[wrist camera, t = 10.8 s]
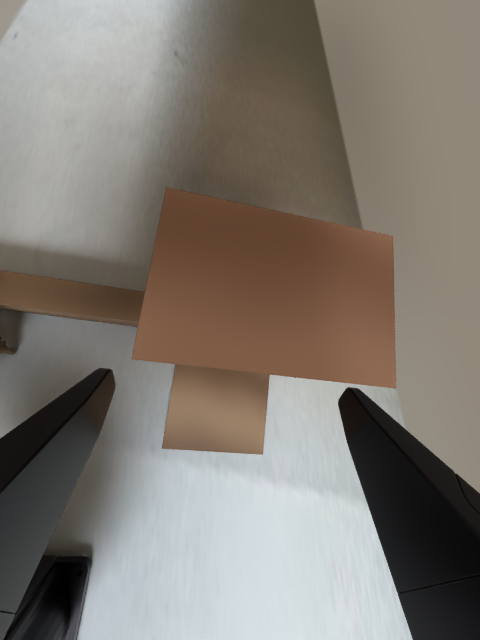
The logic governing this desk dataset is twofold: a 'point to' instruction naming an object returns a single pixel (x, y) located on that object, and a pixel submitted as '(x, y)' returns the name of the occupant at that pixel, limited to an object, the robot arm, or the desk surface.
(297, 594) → the desk surface
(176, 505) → the desk surface
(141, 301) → the wooden l-shaped stand
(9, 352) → the brown squirrel figurine
